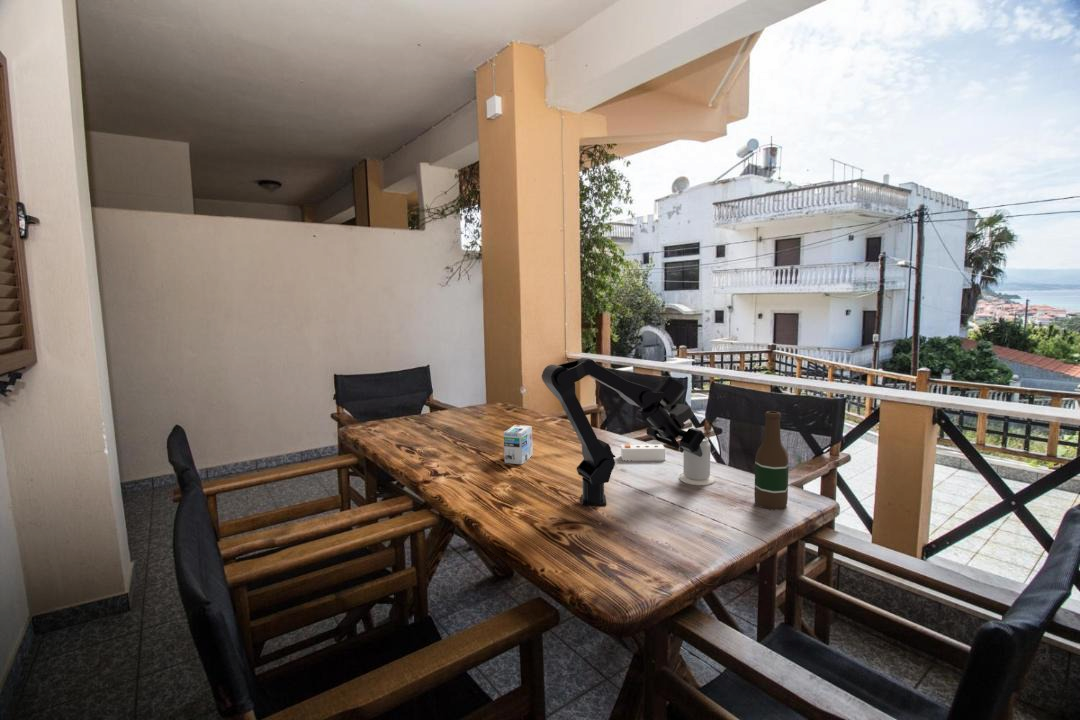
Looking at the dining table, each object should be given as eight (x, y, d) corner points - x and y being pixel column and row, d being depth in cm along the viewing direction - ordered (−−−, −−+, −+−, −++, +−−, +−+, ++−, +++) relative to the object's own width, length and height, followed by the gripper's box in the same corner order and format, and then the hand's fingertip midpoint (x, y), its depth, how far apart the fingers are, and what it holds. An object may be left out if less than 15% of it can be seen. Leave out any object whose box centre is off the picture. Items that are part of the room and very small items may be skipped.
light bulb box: (522, 465, 160) (521, 433, 159) (503, 463, 163) (502, 432, 161) (533, 455, 171) (532, 425, 169) (515, 454, 173) (514, 424, 172)
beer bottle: (784, 499, 127) (786, 409, 124) (790, 511, 119) (793, 416, 117) (752, 497, 129) (753, 408, 126) (756, 509, 121) (758, 415, 119)
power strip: (665, 460, 161) (665, 446, 160) (622, 460, 162) (622, 447, 161) (662, 455, 166) (662, 442, 165) (621, 456, 167) (620, 443, 166)
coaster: (719, 485, 138) (719, 483, 138) (683, 485, 138) (683, 483, 138) (709, 473, 148) (709, 471, 147) (676, 473, 148) (676, 471, 148)
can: (711, 474, 144) (711, 435, 143) (708, 483, 138) (709, 442, 136) (685, 471, 148) (685, 433, 146) (681, 479, 141) (681, 439, 140)
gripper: (700, 401, 128) (729, 437, 134) (654, 391, 145) (682, 423, 151) (677, 434, 126) (707, 469, 132) (633, 420, 142) (662, 451, 148)
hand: (689, 451), depth 141 cm, fingers open, 9 cm apart
